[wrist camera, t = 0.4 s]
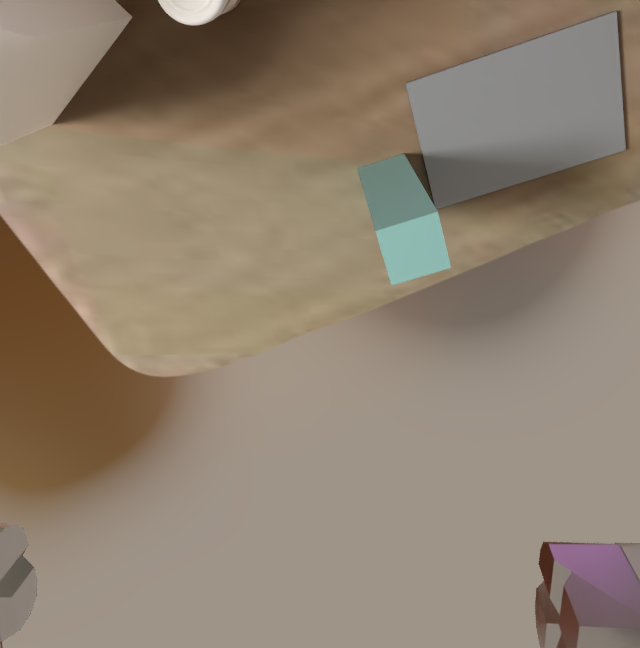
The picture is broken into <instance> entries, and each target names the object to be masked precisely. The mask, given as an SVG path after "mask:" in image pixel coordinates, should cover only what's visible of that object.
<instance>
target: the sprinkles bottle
mask: <svg viewBox="0 0 640 648" xmlns="http://www.w3.org/2000/svg"><path fill="white" fill-rule="evenodd" d="M239 1H240V0H158V2H159V4H160V5H161V7H162V8H163V9H164V11H165V12H166V13H167V14H168V15H169V16H170V17H172V18H173V19H175V20H176V21H178V22H180V23H183V24H186V25H202V24H205V23H208V22H210V21H212V20H214V19H215V18H217V17H218V16H219V15H221V14H224V13H227V12H229V11H231V10H232V9H234V8H235V7H236V6H237V5H238V3H239Z"/></svg>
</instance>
